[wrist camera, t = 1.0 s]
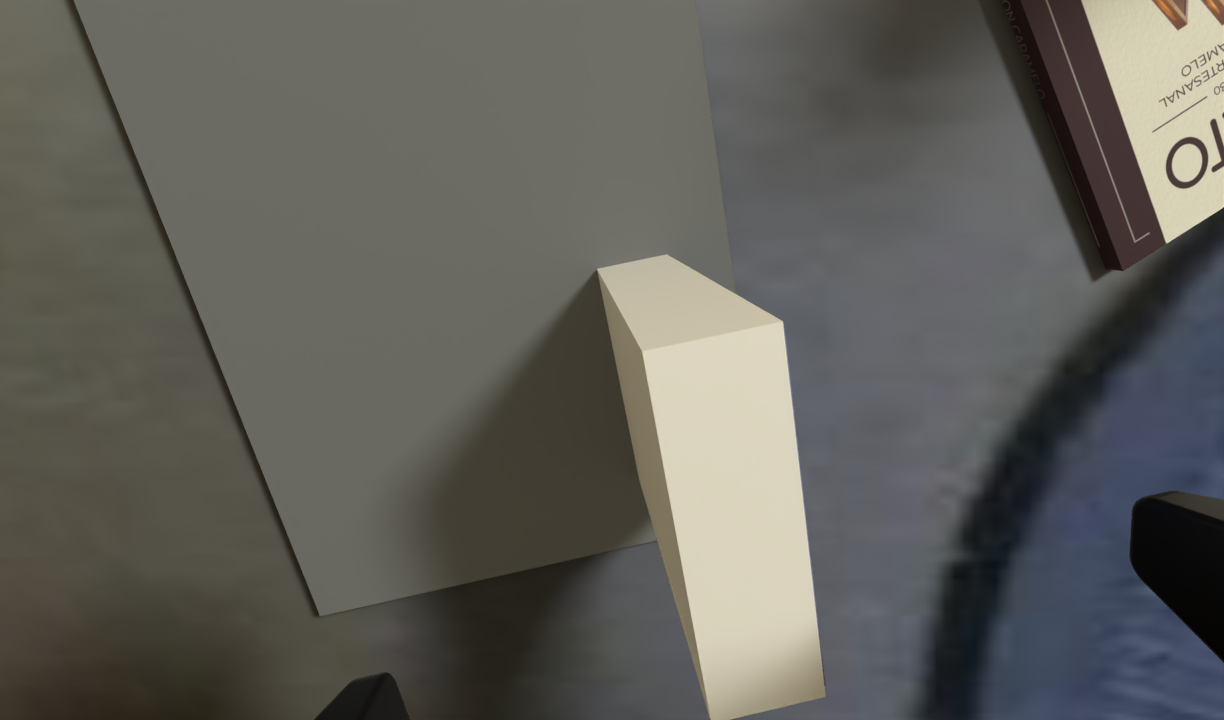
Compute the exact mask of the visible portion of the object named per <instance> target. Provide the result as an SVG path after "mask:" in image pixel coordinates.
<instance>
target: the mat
mask: <svg viewBox="0 0 1224 720" xmlns="http://www.w3.org/2000/svg"><path fill="white" fill-rule="evenodd" d="M74 3H75V5H76V8H77V10H78V13H79V15H80V18H81V20H82V23H83V25H84V28H85V30H86V33H87V35H88V38H89V40H90V43H91V45H92V48H93V50H94V53H95V55H96V58H97V60H98V63H99V65H100V68H101V70H102V73H103V75H104V78H105V80H106V83H107V85H108V88H109V90H110V93H111V95H112V98H113V100H114V103H115V105H116V108H117V110H118V113H119V115H120V118H121V120H122V123H123V125H124V128H125V130H126V133H127V135H128V138H129V140H130V143H131V145H132V148H133V150H134V153H135V155H136V158H137V160H138V163H139V165H140V168H141V170H142V173H143V175H144V178H145V180H146V183H147V185H148V188H149V190H150V193H151V195H152V198H153V200H154V203H155V205H156V208H157V210H158V213H159V215H160V218H161V220H162V223H163V225H164V228H165V230H166V233H167V235H168V238H169V240H170V243H171V245H172V248H173V250H174V252H175V255H176V257H177V260H178V262H179V265H180V267H181V270H182V272H183V275H184V277H185V280H186V282H187V285H188V287H189V290H190V292H191V295H192V297H193V300H194V302H195V305H196V307H197V310H198V312H199V315H200V317H201V320H202V322H203V325H204V327H205V330H206V332H207V335H208V337H209V340H210V342H211V345H212V347H213V350H214V352H215V355H216V357H217V360H218V362H219V365H220V367H221V370H222V372H223V375H224V377H225V380H226V382H227V385H228V387H229V390H230V392H231V395H232V397H233V400H234V402H235V405H236V407H237V410H238V412H239V415H240V417H241V420H242V422H243V425H244V427H245V430H246V432H247V435H248V437H249V440H250V442H251V445H252V447H253V450H254V452H255V455H256V457H257V460H258V462H259V465H260V467H261V470H262V472H263V475H264V477H265V480H266V482H267V485H268V487H269V490H270V492H271V495H272V497H273V500H274V502H275V505H276V507H277V510H278V512H279V515H280V517H281V520H282V522H283V525H284V527H285V530H286V532H287V535H288V537H289V540H290V542H291V545H292V547H293V550H294V552H295V555H296V557H297V560H298V562H299V565H300V567H301V570H302V572H303V575H304V577H305V580H306V582H307V585H308V587H309V590H310V592H311V595H312V597H313V600H314V602H315V605H316V607H317V610H318V612H319V615H320V616H324V615H328V614H333V613H337V612H342V611H346V610H351V609H355V608H359V607H364V606H368V605H373V604H377V603H382V602H386V601H390V600H395V599H399V598H404V597H408V596H413V595H417V594H422V593H426V592H430V591H435V590H439V589H444V588H448V587H453V586H457V585H462V584H466V583H470V582H475V581H479V580H484V579H488V578H493V577H497V576H501V575H506V574H510V573H515V572H519V571H524V570H528V569H533V568H537V567H541V566H546V565H550V564H555V563H559V562H564V561H568V560H573V559H577V558H581V557H586V556H590V555H595V554H599V553H604V552H608V551H613V550H617V549H621V548H626V547H630V546H635V545H639V544H644V543H648V542H652V541H657V538H656V535H655V532H654V528H653V525H652V521H651V518H650V515H649V511H648V508H647V505H646V501H645V498H644V494H643V491H642V488H641V484H640V481H639V476H638V471H637V466H636V461H635V456H634V451H633V446H632V441H631V436H630V431H629V426H628V421H627V416H626V411H625V406H624V401H623V396H622V391H621V386H620V381H619V376H618V371H617V366H616V361H615V356H614V351H613V347H612V342H611V337H610V332H609V327H608V322H607V317H606V312H605V307H604V302H603V297H602V292H601V287H600V282H599V277H598V272H597V269H599V268H604V267H608V266H613V265H618V264H623V263H628V262H633V261H637V260H642V259H647V258H652V257H657V256H661V255H666V254H667V255H669V256H671V257H672V258H674V259H676V260H678V261H679V262H681V263H683V264H684V265H686V266H688V267H690V268H691V269H693V270H695V271H697V272H698V273H700V274H702V275H703V276H705V277H707V278H709V279H710V280H712V281H714V282H716V283H717V284H719V285H721V286H722V287H724V288H726V289H728V290H729V291H731V292H733V293H735V294H736V292H735V284H734V277H733V270H732V262H731V255H730V247H729V240H728V233H727V225H726V218H725V210H724V203H723V196H722V188H721V181H720V174H719V166H718V159H717V151H716V144H715V137H714V129H713V122H712V115H711V107H710V100H709V92H708V85H707V78H706V70H705V63H704V55H703V48H702V41H701V33H700V26H699V19H698V11H697V4H696V0H74Z"/></svg>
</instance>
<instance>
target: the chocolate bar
mask: <svg viewBox="0 0 1224 720" xmlns="http://www.w3.org/2000/svg"><path fill="white" fill-rule="evenodd" d="M1001 1H1002V3H1003V6H1004V8H1005V11H1006V13H1007V16H1008V19H1009V21H1010V24H1011V26H1012V29H1013V31H1014V34H1015V36H1016V39H1017V42H1018V44H1019V47H1020V49H1021V52H1022V54H1023V57H1024V60H1025V62H1026V65H1027V67H1028V70H1029V72H1030V75H1031V77H1032V80H1033V83H1034V85H1035V88H1036V90H1037V93H1038V95H1039V98H1040V101H1041V103H1042V106H1043V108H1044V111H1045V113H1046V116H1047V118H1048V121H1049V124H1050V126H1051V129H1052V131H1053V134H1054V136H1055V139H1056V142H1057V144H1058V147H1059V149H1060V152H1061V154H1062V157H1063V159H1064V162H1065V165H1066V167H1067V170H1068V172H1069V175H1070V177H1071V180H1072V183H1073V185H1074V188H1075V190H1076V193H1077V195H1078V198H1079V200H1080V203H1081V206H1082V208H1083V211H1084V213H1085V216H1086V218H1087V221H1088V224H1089V226H1090V229H1091V231H1092V234H1093V236H1094V239H1095V241H1096V244H1097V247H1098V249H1099V252H1100V254H1101V257H1102V259H1103V262H1104V265H1105V267H1106V269H1113V270H1120V271H1124V270H1125V269H1127V268H1129V267H1130V266H1132V265H1133V264H1135V263H1136V262H1138V261H1140V260H1141V259H1143V258H1144V257H1146V256H1148V255H1149V254H1151V253H1152V252H1154V251H1155V250H1157V249H1159V248H1160V247H1162V246H1163V245H1165V244H1166V243H1168V242H1170V241H1171V240H1173V239H1174V238H1176V237H1177V236H1179V235H1181V234H1182V233H1184V232H1185V231H1187V230H1189V229H1190V228H1192V227H1193V226H1195V225H1196V224H1198V223H1200V222H1201V221H1203V220H1204V219H1206V218H1207V217H1209V216H1211V215H1212V214H1214V213H1215V212H1217V211H1219V210H1220V209H1222V208H1223V207H1224V0H1001Z"/></svg>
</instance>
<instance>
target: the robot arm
mask: <svg viewBox="0 0 1224 720" xmlns="http://www.w3.org/2000/svg"><path fill="white" fill-rule="evenodd" d="M1130 561H1131V564H1132V566H1133V568H1134V570H1135V572H1136V573H1137V575H1138V576H1139V578H1140V579H1141V580H1142V581H1143V582H1144V583H1145V584H1146V585H1147V586H1148V587H1149V588H1150V589H1151V590H1152V591H1153V592H1154V593H1155V594H1156V595H1157V596H1158V597H1159V598H1160V599H1161V600H1162V601H1163V602H1164V603H1165V604H1166V605H1167V606H1168V607H1169V608H1170V609H1171V610H1172V611H1173V612H1174V613H1175V614H1176V615H1177V616H1178V617H1179V618H1180V619H1181V620H1182V621H1183V622H1184V623H1185V624H1186V625H1187V626H1188V627H1189V628H1190V629H1191V630H1192V631H1193V632H1194V633H1195V634H1196V635H1197V636H1198V637H1199V638H1200V639H1201V640H1202V641H1203V642H1204V643H1205V644H1206V645H1207V646H1208V647H1209V648H1210V649H1211V650H1212V651H1213V652H1214V653H1215V654H1216V655H1217V656H1218V657H1219V658H1220V659H1221V660H1222V661H1223V662H1224V500H1222V499H1216V498H1211V497H1206V496H1201V495H1196V494H1190V493H1185V492H1179V491H1168V492H1163V493H1159V494H1155V495H1150V496H1146V497H1143V498H1140V499H1139V500H1137V501H1136V503H1135V504H1134V506H1133V509H1132V520H1131V538H1130ZM314 720H410V719H409V716H408V713H407V711H406V708H405V705H404V702H403V700H402V697H401V694H400V692H399V689H398V686H397V683H396V681H395V679H394V678H393V676H392V675H391V674H389V673H386V672H385V673H379V674H375V675H370V676H366V677H362V678H358V679H355V680H353V681H352V682H350V683H349V684H348V685H347V686H346V687H345V688H344V689H343V690H342V691H341V692H340V693H339V694H338V695H337V696H336V698H335V699H334V700H333V701H332V702H331V703H330V704H329V705H328V706H327V707H326V708H325V709H324V710H323V711H322V712H321V713H320V714H319V715H318V716H317V717H316V718H315V719H314Z"/></svg>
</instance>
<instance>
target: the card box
mask: <svg viewBox="0 0 1224 720" xmlns="http://www.w3.org/2000/svg"><path fill="white" fill-rule="evenodd" d="M597 272H598V277H599V282H600V287H601V292H602V297H603V302H604V307H605V312H606V317H607V322H608V327H609V332H610V337H611V342H612V347H613V351H614V356H615V361H616V366H617V371H618V376H619V381H620V386H621V391H622V396H623V401H624V406H625V411H626V416H627V421H628V426H629V431H630V436H631V441H632V446H633V451H634V456H635V461H636V466H637V471H638V476H639V481H640V484H641V488H642V491H643V494H644V498H645V501H646V505H647V508H648V511H649V515H650V518H651V521H652V525H653V528H654V532H655V535H656V538H657V542H658V545H659V548H660V552H661V555H662V559H663V562H664V565H665V569H666V572H667V575H668V579H669V582H670V586H671V589H672V592H673V596H674V599H675V602H676V606H677V609H678V613H679V616H680V619H681V623H682V626H683V629H684V633H685V636H686V640H687V643H688V646H689V650H690V653H691V656H692V660H693V663H694V667H695V670H696V673H697V677H698V680H699V683H700V687H701V690H702V694H703V697H704V700H705V704H706V707H707V710H708V714H709V717H710V720H730V719H734V718H738V717H743V716H747V715H751V714H755V713H760V712H764V711H768V710H772V709H776V708H781V707H785V706H789V705H793V704H797V703H802V702H806V701H810V700H814V699H819V698H823V697H826V695H825V678H824V669H823V660H822V651H821V642H820V633H819V625H818V616H817V607H816V598H815V589H814V581H813V572H812V563H811V554H810V545H809V537H808V528H807V519H806V510H805V501H804V493H803V484H802V475H801V466H800V457H799V449H798V440H797V431H796V422H795V413H794V404H793V396H792V387H791V378H790V369H789V360H788V352H787V343H786V334H785V326H783V321H781V320H779V319H778V318H776V317H774V316H772V315H771V314H769V313H767V312H766V311H764V310H762V309H760V308H759V307H757V306H755V305H754V304H752V303H750V302H748V301H747V300H745V299H743V298H741V297H740V296H738V295H736V294H735V293H733V292H731V291H729V290H728V289H726V288H724V287H722V286H721V285H719V284H717V283H716V282H714V281H712V280H710V279H709V278H707V277H705V276H703V275H702V274H700V273H698V272H697V271H695V270H693V269H691V268H690V267H688V266H686V265H684V264H683V263H681V262H679V261H678V260H676V259H674V258H672V257H671V256H669V255H667V254H666V255H661V256H657V257H652V258H647V259H642V260H637V261H633V262H628V263H623V264H618V265H613V266H608V267H604V268H599V269H597Z"/></svg>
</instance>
